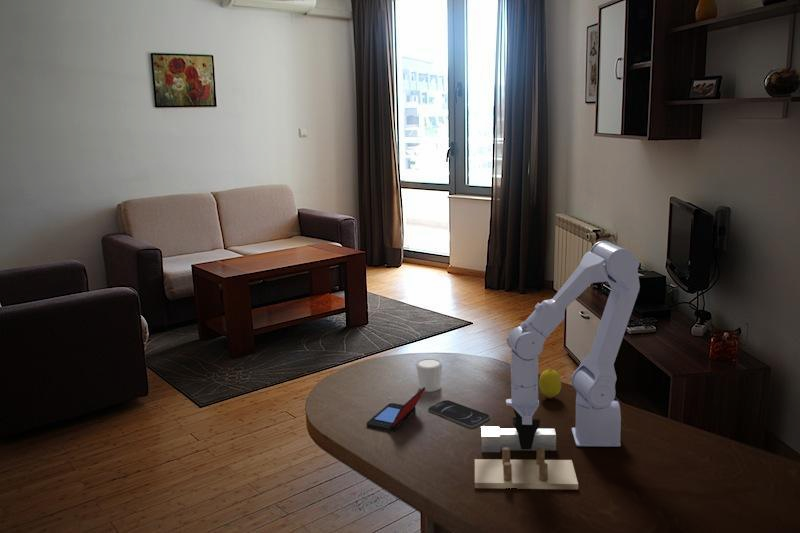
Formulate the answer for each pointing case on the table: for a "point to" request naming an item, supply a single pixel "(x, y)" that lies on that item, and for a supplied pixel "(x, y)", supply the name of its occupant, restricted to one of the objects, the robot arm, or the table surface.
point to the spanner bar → (515, 439)
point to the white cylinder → (429, 374)
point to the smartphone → (459, 413)
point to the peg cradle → (525, 473)
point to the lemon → (550, 383)
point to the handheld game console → (394, 414)
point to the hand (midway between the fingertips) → (524, 439)
